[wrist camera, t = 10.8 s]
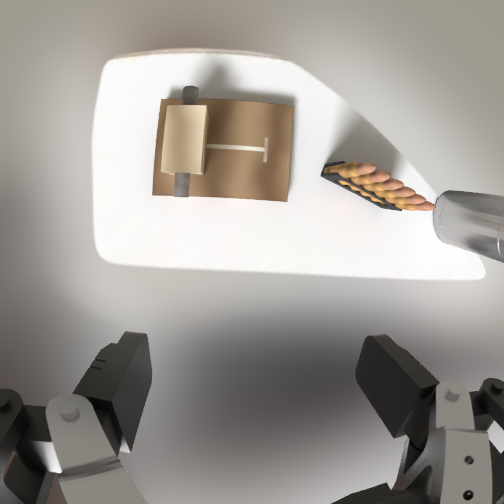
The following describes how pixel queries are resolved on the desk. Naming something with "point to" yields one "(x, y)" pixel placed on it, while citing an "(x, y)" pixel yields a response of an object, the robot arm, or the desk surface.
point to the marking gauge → (185, 141)
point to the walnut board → (236, 151)
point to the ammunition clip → (375, 186)
